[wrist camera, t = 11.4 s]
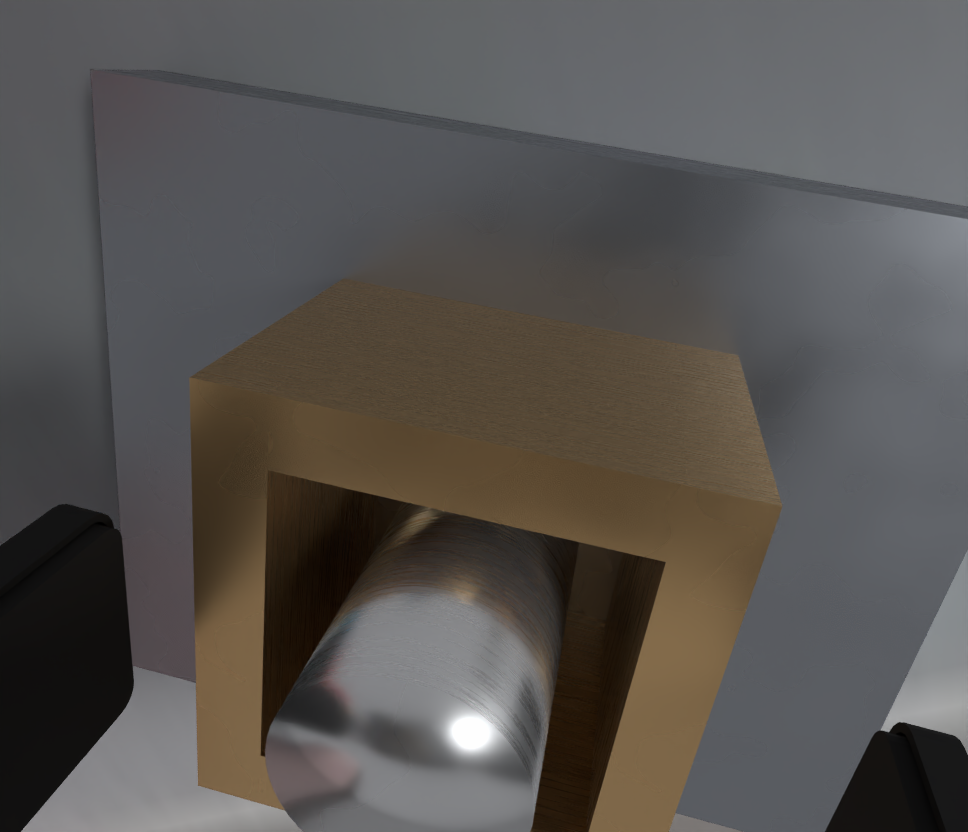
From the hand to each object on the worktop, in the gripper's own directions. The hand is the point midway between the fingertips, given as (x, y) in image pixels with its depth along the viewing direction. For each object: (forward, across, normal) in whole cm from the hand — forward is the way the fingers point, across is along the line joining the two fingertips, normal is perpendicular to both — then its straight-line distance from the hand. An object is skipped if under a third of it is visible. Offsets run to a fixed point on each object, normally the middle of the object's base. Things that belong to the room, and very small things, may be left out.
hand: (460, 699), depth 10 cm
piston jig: (+7, +1, +1) cm, 8 cm away
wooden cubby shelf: (+6, 0, 0) cm, 6 cm away
